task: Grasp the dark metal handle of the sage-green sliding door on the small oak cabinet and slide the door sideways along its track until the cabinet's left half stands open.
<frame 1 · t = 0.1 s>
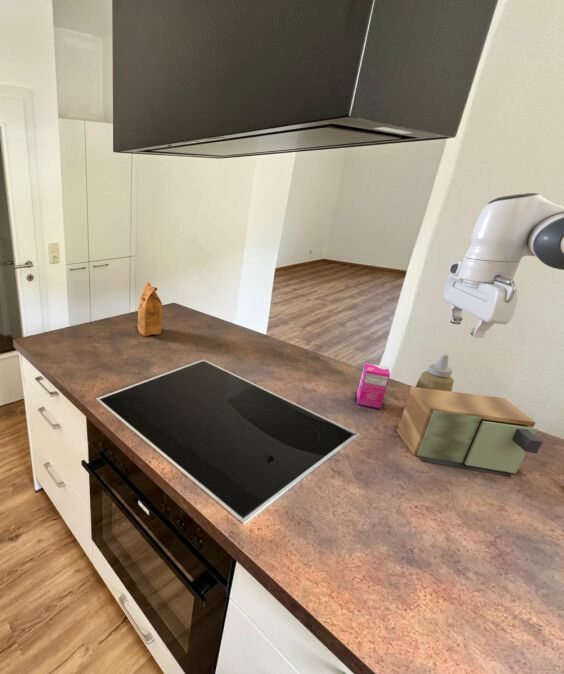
hand: (464, 329, 85), 27 cm above the worktop, tool pointing down, fingers open, 8 cm apart
cabinet: (449, 449, 86), on the worktop
sliding door: (505, 453, 75), point 6 cm above the worktop, slide at 0.0 cm
coffee package: (148, 332, 163), on the worktop
supplement box: (367, 403, 105), on the worktop
squeeze bottle: (423, 415, 100), on the worktop
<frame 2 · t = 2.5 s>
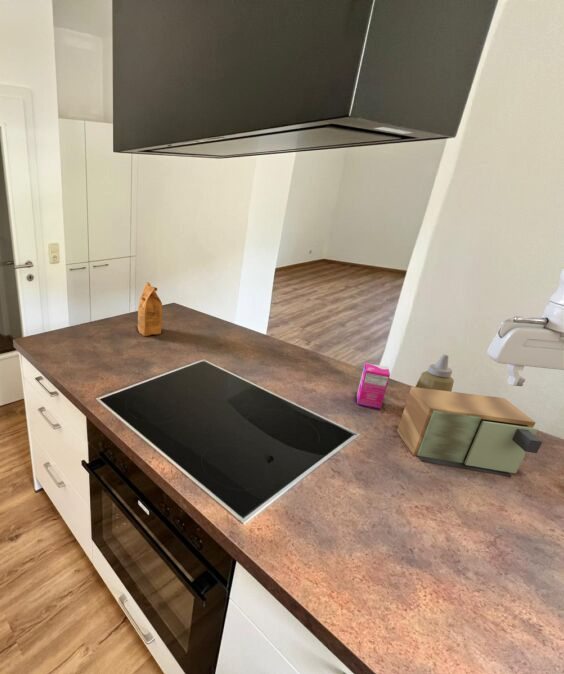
hand: (545, 388, 69), 22 cm above the worktop, tool pointing down, fingers open, 8 cm apart
nothing on the worktop moved.
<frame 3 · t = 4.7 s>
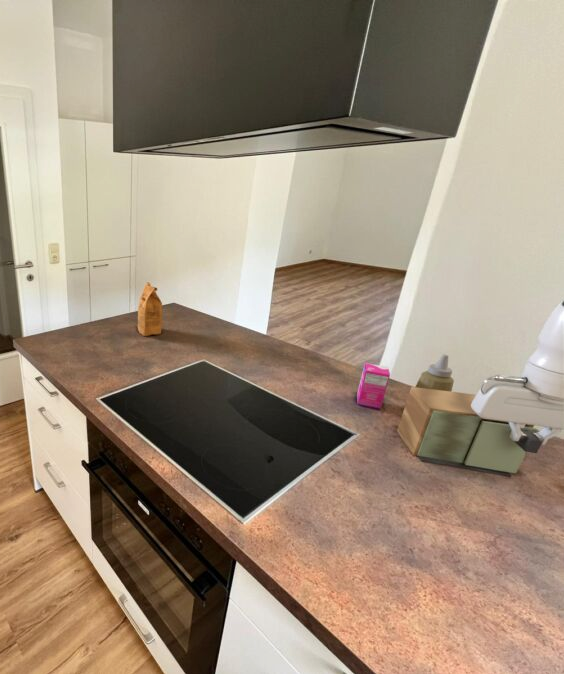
hand: (526, 441, 73), 10 cm above the worktop, tool pointing down, fingers closed on sliding door, 2 cm apart
sliding door: (505, 453, 75), point 6 cm above the worktop, slide at 0.0 cm, touching gripper
everything else where it was.
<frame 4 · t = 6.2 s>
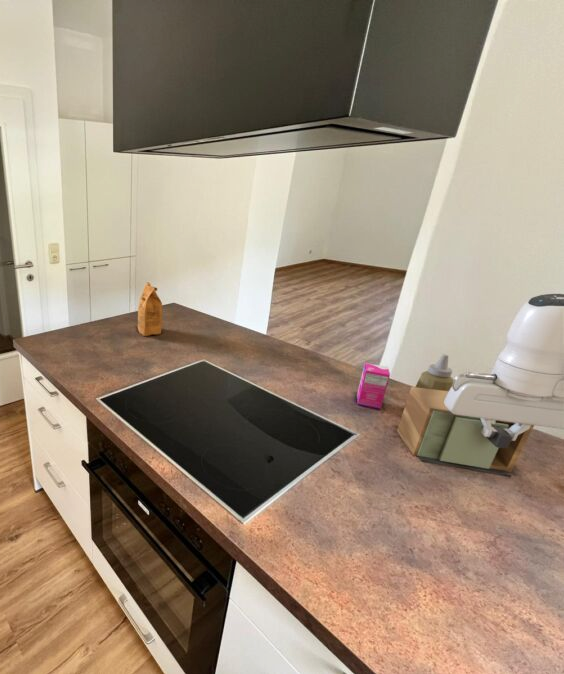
hand: (497, 437, 74), 10 cm above the worktop, tool pointing down, fingers closed on sliding door, 2 cm apart
sliding door: (477, 448, 76), point 6 cm above the worktop, slide at 4.6 cm, touching gripper
everything else where it was.
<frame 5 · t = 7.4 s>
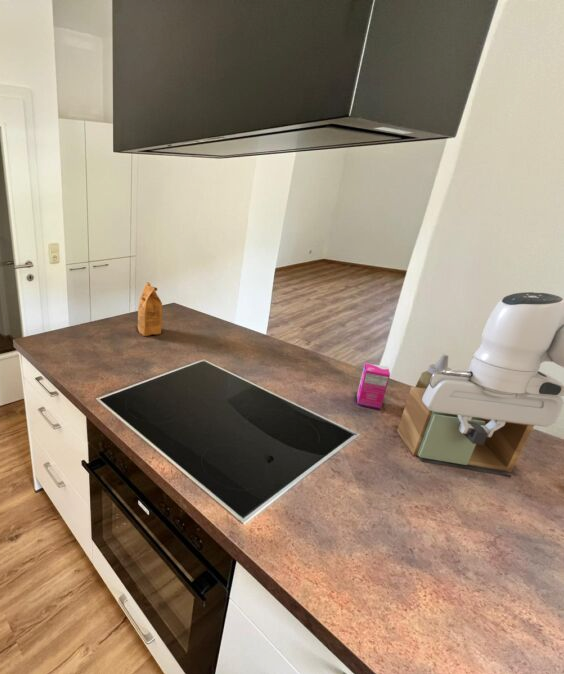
hand: (474, 433, 75), 10 cm above the worktop, tool pointing down, fingers closed on sliding door, 2 cm apart
sliding door: (455, 445, 77), point 6 cm above the worktop, slide at 8.5 cm, touching gripper
everything else where it was.
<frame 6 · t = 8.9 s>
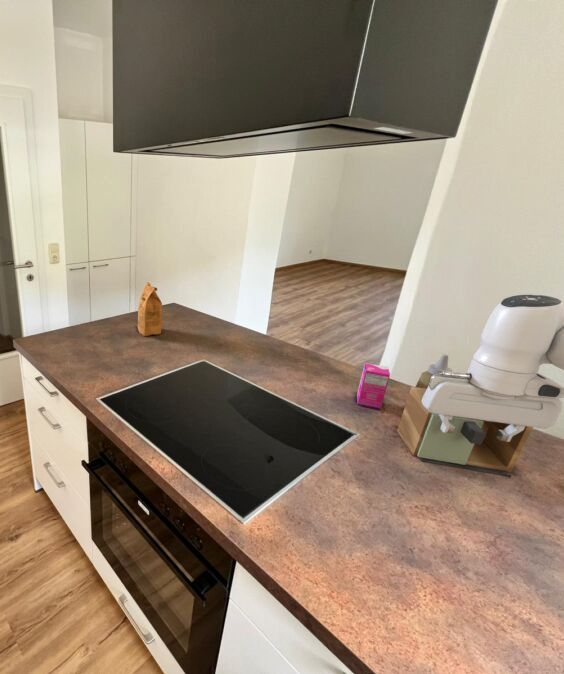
hand: (473, 435, 75), 10 cm above the worktop, tool pointing down, fingers open, 8 cm apart
sliding door: (453, 445, 77), point 6 cm above the worktop, slide at 8.8 cm
everything else where it was.
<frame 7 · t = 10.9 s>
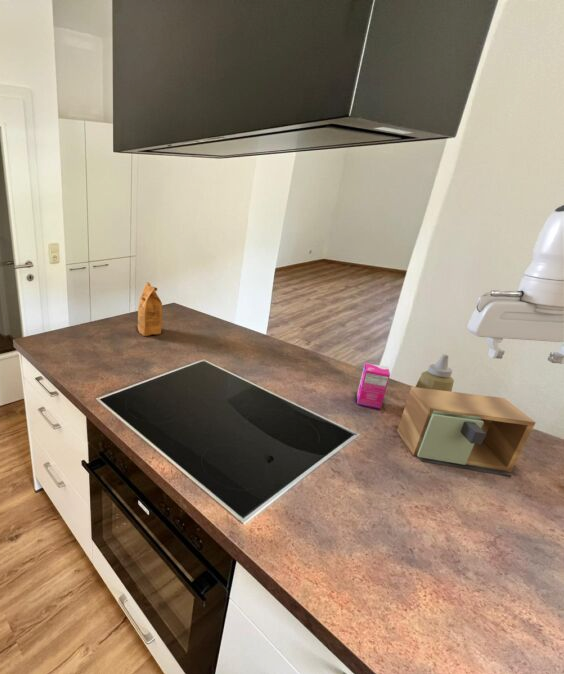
hand: (524, 359, 72), 26 cm above the worktop, tool pointing down, fingers open, 8 cm apart
nothing on the worktop moved.
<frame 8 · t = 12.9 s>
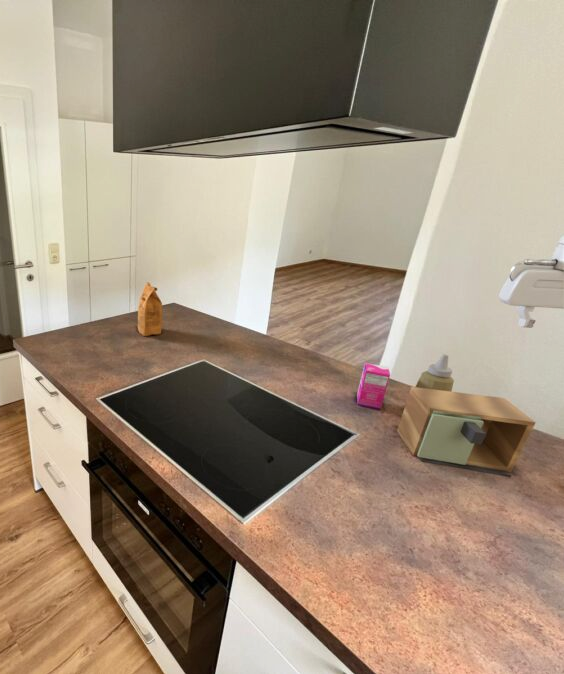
hand: (554, 329, 73), 31 cm above the worktop, tool pointing down, fingers open, 8 cm apart
nothing on the worktop moved.
at the end: sliding door slide at 8.8 cm; the gripper is holding nothing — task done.
